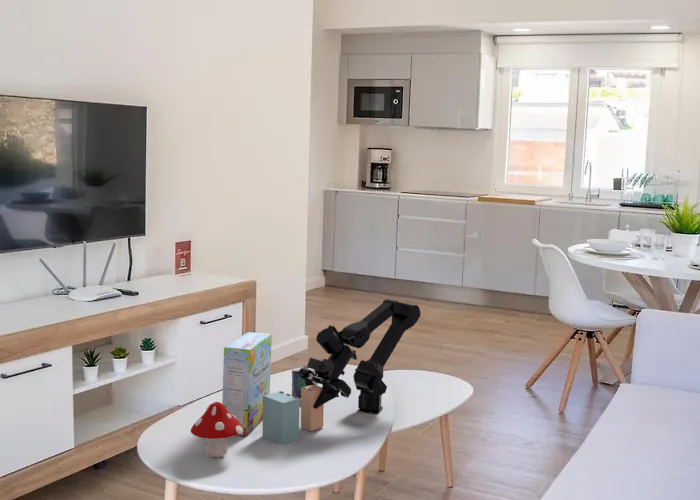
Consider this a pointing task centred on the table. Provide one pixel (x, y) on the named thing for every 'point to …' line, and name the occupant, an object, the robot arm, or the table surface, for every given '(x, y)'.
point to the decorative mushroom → (217, 428)
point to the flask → (298, 382)
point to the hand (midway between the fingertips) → (308, 406)
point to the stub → (311, 408)
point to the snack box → (247, 378)
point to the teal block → (281, 417)
